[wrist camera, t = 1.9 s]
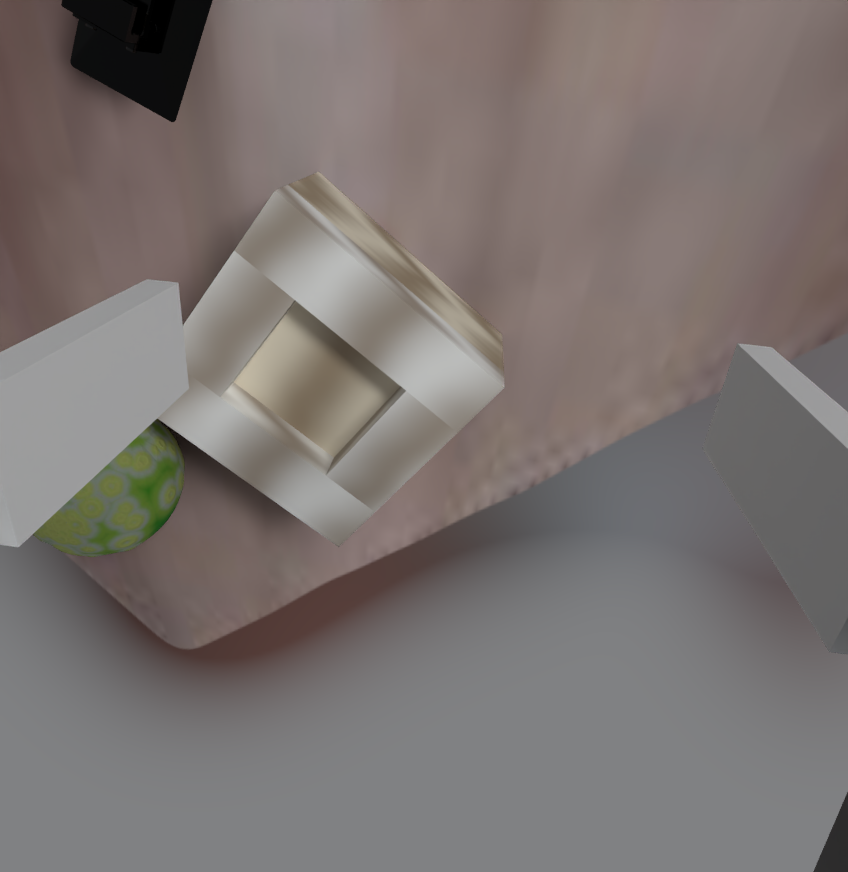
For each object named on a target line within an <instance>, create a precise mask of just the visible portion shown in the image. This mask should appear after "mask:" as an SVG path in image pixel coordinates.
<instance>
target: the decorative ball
mask: <svg viewBox="0 0 848 872" xmlns="http://www.w3.org/2000/svg"><path fill="white" fill-rule="evenodd" d="M184 468H185V463H184V459H183V455H182V452H181V450H180V448H179V446H178V444H177V441H176V439H175V438H174V436H173V435H172V434H171V432H170V431H169V430H168V429H167V428H166V427H165V426H164V425H162V424H161V422H160V421H159V420H158V419H156V420H155V421H154V422H153V423H152V424H151V425H149V426H148V427H147V428H146V429H145V430H144V431H143V432H142V433H141V434H140V435H139V436H138V437H137V438H135V439H134V440H133V441H132V442H131V443H130V444H129V445H128V446H127V447H126V448H125V449H124V450H123V451H122V452H120V453H119V454H118V455H117V456H116V457H115V458H114V459H113V460H112V461H111V462H110V463H109V464H108V465H106V466H105V467H104V468H103V469H102V470H101V471H100V472H99V473H98V474H97V475H96V476H95V477H94V478H93V479H91V480H90V481H89V482H88V483H87V484H86V485H85V486H84V487H83V488H82V489H81V490H80V491H79V492H77V493H76V494H75V495H74V496H73V497H72V498H71V499H70V500H69V501H68V502H67V503H66V504H65V505H63V506H62V507H61V508H60V509H59V510H58V511H57V512H56V513H55V514H54V515H53V516H52V517H51V518H50V519H48V520H47V521H46V522H45V523H44V524H43V525H42V526H41V527H40V528H39V529H38V530H37V531H36V532H34V533H33V535H34V536H35V537H37V538H38V539H39V540H41V541H43V542H45V543H48V544H50V545H52V546H54V547H55V548H57V549H58V550H60V551H62V552H65V553H68V554H72V555H78V556H88V557H96V556H101V555H106V554H112V553H117V552H123V551H129V550H131V549H133V548H135V547H136V546H138V545H139V544H141V543H143V542H144V541H145V540H147V539H148V538H149V537H151V536H152V535H153V534H154V533H156V532H157V531H158V530H159V529H160V528H161V527H162V526H163V525H164V523H165V522H166V521H167V520H168V519H169V517H170V516H171V514H172V513H173V511H174V509H175V507H176V505H177V503H178V501H179V498H180V495H181V492H182V489H183V484H184Z"/></svg>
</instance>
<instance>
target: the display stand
mask: <svg viewBox="0 0 848 872" xmlns="http://www.w3.org/2000/svg"><path fill="white" fill-rule="evenodd" d="M183 334H184V344H185V353H186V363H187V373H188V383H189V389H188V390H187V391H186V392H185V393H184V394H183V395H182V396H181V397H180V398H178V399H177V400H176V401H175V402H174V403H173V404H172V405H171V406H170V407H169V408H168V409H167V410H166V411H165V412H163V413H162V414H161V415H160V416H159V417H158V419H159V420H160V421H162V422H163V423H165V424H166V425H167V426H169V427H170V428H172V429H173V430H174V431H176V432H177V433H179V434H180V435H181V436H183V437H184V438H186V439H187V440H188V441H190V442H191V443H193V444H194V445H196V446H197V447H198V448H200V449H201V450H203V451H204V452H205V453H207V454H208V455H210V456H211V457H212V458H214V459H215V460H217V461H218V462H219V463H221V464H222V465H224V466H225V467H226V468H228V469H229V470H231V471H232V472H234V473H235V474H236V475H238V476H239V477H241V478H242V479H243V480H245V481H246V482H248V483H249V484H250V485H252V486H253V487H255V488H256V489H257V490H259V491H260V492H262V493H263V494H264V495H266V496H267V497H269V498H270V499H271V500H273V501H274V502H276V503H277V504H279V505H280V506H281V507H283V508H284V509H286V510H287V511H288V512H290V513H291V514H293V515H294V516H295V517H297V518H298V519H300V520H301V521H302V522H304V523H305V524H307V525H308V526H309V527H311V528H312V529H314V530H315V531H317V532H318V533H319V534H321V535H322V536H324V537H325V538H326V539H328V540H329V541H331V542H332V543H333V544H335V545H336V546H338V547H339V546H340V545H341V544H342V543H344V542H345V541H346V540H347V539H348V538H349V537H350V536H351V535H352V534H353V533H354V532H355V531H356V530H357V529H358V528H359V527H360V526H361V525H362V524H363V523H364V522H365V521H366V520H367V519H368V518H369V517H371V516H372V515H373V514H374V513H375V512H376V511H377V510H378V509H379V508H380V507H381V506H382V505H383V504H384V503H385V502H386V501H387V500H388V499H389V498H390V497H391V496H392V495H393V494H394V493H395V492H396V491H397V490H399V489H400V488H401V487H402V486H403V485H404V484H405V483H406V482H407V481H408V480H409V479H410V478H411V477H412V476H413V475H414V474H415V473H416V472H417V471H418V470H419V469H420V468H421V467H422V466H423V465H424V464H426V463H427V462H428V461H429V460H430V459H431V458H432V457H433V456H434V455H435V454H436V453H437V452H438V451H439V450H440V449H441V448H442V447H443V446H444V445H445V444H446V443H447V442H448V441H449V440H450V439H451V438H453V437H454V436H455V435H456V434H457V433H458V432H459V431H460V430H461V429H462V428H463V427H464V426H465V425H466V424H467V423H468V422H469V421H470V420H471V419H472V418H473V417H474V416H475V415H476V414H477V413H478V412H480V411H481V410H482V409H483V408H484V407H485V406H486V405H487V404H488V403H489V402H490V401H491V400H492V399H493V398H494V397H495V396H496V395H497V394H498V393H499V392H500V391H501V390H502V389H503V388H504V367H503V347H502V334H501V333H500V332H498V331H497V330H496V329H495V328H494V327H493V326H492V325H490V324H489V323H488V322H487V321H486V320H485V319H484V318H483V317H481V316H480V315H479V314H478V313H477V312H476V311H475V310H474V309H472V308H471V307H470V306H469V305H468V304H467V303H466V302H465V301H463V300H462V299H461V298H460V297H459V296H458V295H457V294H456V293H454V292H453V291H452V290H451V289H450V288H449V287H448V286H447V285H445V284H444V283H443V282H442V281H441V280H440V279H439V278H438V277H436V276H435V275H434V274H433V273H432V272H431V271H430V270H429V269H427V268H426V267H425V266H424V265H423V264H422V263H421V262H420V261H418V260H417V259H416V258H415V257H414V256H413V255H412V254H410V253H409V252H408V251H407V250H406V249H405V248H404V247H403V246H401V245H400V244H399V243H398V242H397V241H396V240H395V239H394V238H392V237H391V236H390V235H389V234H388V233H387V232H386V231H385V230H383V229H382V228H381V227H380V226H379V225H378V224H377V223H376V222H374V221H373V220H372V219H371V218H370V217H369V216H368V215H367V214H365V213H364V212H363V211H362V210H361V209H360V208H359V207H358V206H356V205H355V204H354V203H353V202H352V201H351V200H350V199H349V198H347V197H346V196H345V195H344V194H343V193H342V192H341V191H339V190H338V189H337V188H336V187H335V186H334V185H333V184H332V183H330V182H329V181H328V180H327V179H326V178H325V177H324V176H323V175H321V174H320V173H319V172H318V173H315V174H313V175H310V176H308V177H306V178H303V179H301V180H298V181H296V182H294V183H291V184H289V185H287V186H284V187H282V188H279V189H277V190H275V191H274V193H273V194H272V196H271V197H270V199H269V200H268V202H267V203H266V205H265V206H264V208H263V209H262V210H261V212H260V213H259V215H258V216H257V218H256V219H255V221H254V222H253V224H252V225H251V227H250V228H249V229H248V231H247V232H246V234H245V235H244V237H243V238H242V240H241V241H240V243H239V244H238V246H237V247H236V249H235V250H234V251H233V253H232V254H231V256H230V257H229V259H228V260H227V262H226V263H225V265H224V266H223V268H222V269H221V271H220V272H219V273H218V275H217V276H216V278H215V279H214V281H213V282H212V284H211V285H210V287H209V288H208V290H207V291H206V293H205V294H204V295H203V297H202V298H201V300H200V301H199V303H198V304H197V306H196V307H195V309H194V310H193V312H192V313H191V315H190V316H189V317H188V319H187V320H186V322H185V323H184V325H183Z"/></svg>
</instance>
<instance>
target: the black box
mask: <svg viewBox="0 0 848 872" xmlns="http://www.w3.org/2000/svg"><path fill="white" fill-rule="evenodd" d="M211 3H212V0H62V4H61V5H62V7H64V8H66V9H67V10H69V11H71V12H73V16H75V17H76V18H78V19H79V21H78V26H77V31H76V36H75V41H74V46H73V51H72V56H71V65H72V66H73V67H74V68H76V69H78V70H80V71H81V72H83V73H85V74H87V75H89V76H90V77H92V78H94V79H96V80H98V81H99V82H101V83H103V84H105V85H107V86H108V87H110V88H112V89H114V90H115V91H117V92H119V93H121V94H123V95H124V96H126V97H128V98H130V99H132V100H133V101H135V102H137V103H139V104H140V105H142V106H144V107H146V108H148V109H149V110H151V111H153V112H155V113H157V114H158V115H160V116H162V117H164V118H165V119H167V120H169V121H171V122H174V121H175V120H176V118H177V114H178V111H179V108H180V104H181V101H182V98H183V95H184V91H185V88H186V85H187V82H188V78H189V75H190V72H191V69H192V65H193V62H194V59H195V56H196V52H197V49H198V46H199V43H200V39H201V36H202V33H203V30H204V26H205V23H206V20H207V17H208V13H209V10H210V7H211Z"/></svg>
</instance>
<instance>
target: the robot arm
mask: <svg viewBox="0 0 848 872" xmlns="http://www.w3.org/2000/svg"><path fill="white" fill-rule="evenodd" d="M188 389H189V383H188V373H187V363H186V353H185V344H184V334H183V324H182V314H181V304H180V295H179V285H178V283H176V282H167V281H158V280H149V279H147V280H145V281H143V282H141V283H139V284H137V285H135V286H133V287H131V288H129V289H127V290H125V291H123V292H121V293H119V294H117V295H115V296H112V297H110V298H108V299H106V300H104V301H102V302H100V303H98V304H96V305H94V306H92V307H90V308H88V309H86V310H84V311H82V312H80V313H78V314H76V315H74V316H72V317H70V318H68V319H66V320H64V321H62V322H60V323H58V324H56V325H54V326H52V327H50V328H48V329H46V330H44V331H42V332H40V333H38V334H36V335H34V336H32V337H30V338H28V339H26V340H24V341H22V342H20V343H18V344H16V345H14V346H12V347H10V348H8V349H6V350H4V351H2V352H0V545H5V546H13V547H19V546H21V544H23V543H24V542H25V541H26V540H27V539H28V538H29V537H30V536H31V535H32V534H33V533H34V532H36V531H37V530H38V529H39V528H40V527H41V526H42V525H43V524H44V523H45V522H46V521H47V520H48V519H50V518H51V517H52V516H53V515H54V514H55V513H56V512H57V511H58V510H59V509H60V508H61V507H62V506H63V505H65V504H66V503H67V502H68V501H69V500H70V499H71V498H72V497H73V496H74V495H75V494H76V493H77V492H79V491H80V490H81V489H82V488H83V487H84V486H85V485H86V484H87V483H88V482H89V481H90V480H91V479H93V478H94V477H95V476H96V475H97V474H98V473H99V472H100V471H101V470H102V469H103V468H104V467H105V466H106V465H108V464H109V463H110V462H111V461H112V460H113V459H114V458H115V457H116V456H117V455H118V454H119V453H120V452H122V451H123V450H124V449H125V448H126V447H127V446H128V445H129V444H130V443H131V442H132V441H133V440H134V439H135V438H137V437H138V436H139V435H140V434H141V433H142V432H143V431H144V430H145V429H146V428H147V427H148V426H149V425H151V424H152V423H153V422H154V421H155V420H156V419H157V418H158V417H159V416H160V415H161V414H162V413H163V412H165V411H166V410H167V409H168V408H169V407H170V406H171V405H172V404H173V403H174V402H175V401H176V400H177V399H178V398H180V397H181V396H182V395H183V394H184V393H185V392H186V391H187V390H188ZM703 450H704V452H705V453H706V455H707V457H708V458H709V460H710V462H711V463H712V465H713V466H714V468H715V470H716V471H717V473H718V474H719V476H720V478H721V479H722V480H723V482H724V484H725V486H726V487H727V489H728V490H729V492H730V494H731V495H732V497H733V498H734V500H735V502H736V503H737V505H738V506H739V508H740V510H741V511H742V513H743V515H744V516H745V518H746V519H747V521H748V523H749V524H750V526H751V527H752V529H753V530H754V532H755V534H756V535H757V537H758V539H759V540H760V542H761V543H762V545H763V546H764V548H765V550H766V551H767V553H768V555H769V556H770V558H771V559H772V561H773V563H774V564H775V566H776V567H777V569H778V571H779V572H780V574H781V576H782V577H783V579H784V580H785V582H786V584H787V585H788V587H789V588H790V590H791V592H792V593H793V595H794V596H795V598H796V600H797V601H798V603H799V604H800V606H801V607H802V609H803V611H804V612H805V614H806V616H807V617H808V619H809V620H810V622H811V624H812V625H813V627H814V628H815V630H816V631H817V633H818V635H819V636H820V638H821V640H822V641H823V643H824V644H825V646H826V648H827V649H828V651H829V652H833V653H840V654H848V412H847V411H846V410H845V409H843V408H842V407H841V406H840V405H839V404H837V403H836V402H835V401H834V400H833V399H832V398H830V397H829V396H828V395H827V394H826V393H825V392H823V391H822V390H821V389H820V388H819V387H817V386H816V385H815V384H814V383H813V382H812V381H810V380H809V379H808V378H807V377H806V376H805V375H803V374H802V373H801V372H800V371H799V370H797V369H796V368H795V367H794V366H793V365H792V364H791V363H789V362H788V361H787V360H786V359H785V358H783V357H782V356H781V355H780V354H779V353H778V352H776V351H775V350H774V349H773V348H772V347H765V346H756V345H747V344H737V346H736V349H735V352H734V355H733V358H732V361H731V364H730V367H729V370H728V373H727V376H726V379H725V382H724V385H723V388H722V391H721V394H720V397H719V400H718V403H717V406H716V409H715V412H714V415H713V418H712V421H711V424H710V427H709V430H708V433H707V436H706V439H705V442H704V445H703ZM814 872H848V793H847V795H846V797H845V800H844V802H843V804H842V807H841V809H840V811H839V814H838V816H837V818H836V821H835V823H834V825H833V827H832V830H831V832H830V834H829V837H828V839H827V842H826V844H825V846H824V848H823V851H822V853H821V855H820V858H819V860H818V862H817V865H816V867H815V870H814Z"/></svg>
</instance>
